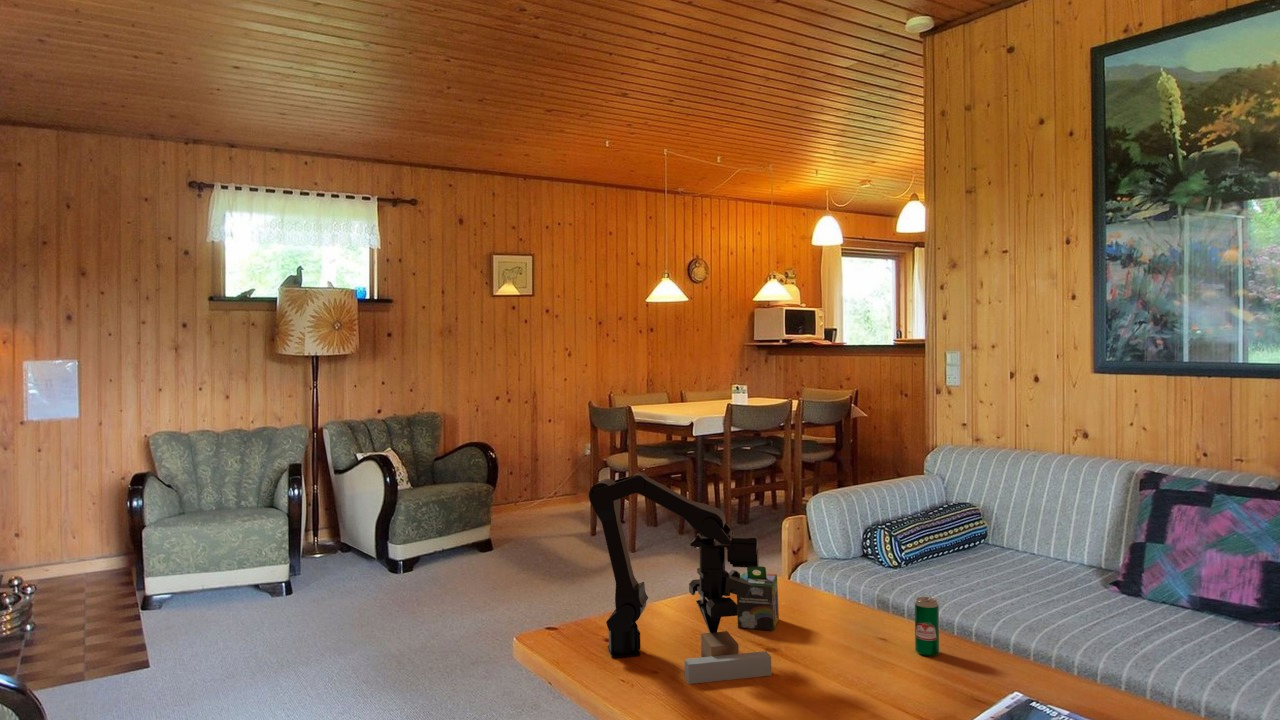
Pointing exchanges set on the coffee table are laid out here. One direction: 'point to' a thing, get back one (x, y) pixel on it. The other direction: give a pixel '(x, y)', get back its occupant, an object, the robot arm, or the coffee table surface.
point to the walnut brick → (718, 644)
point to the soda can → (927, 626)
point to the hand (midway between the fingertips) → (713, 635)
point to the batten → (727, 667)
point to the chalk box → (759, 601)
